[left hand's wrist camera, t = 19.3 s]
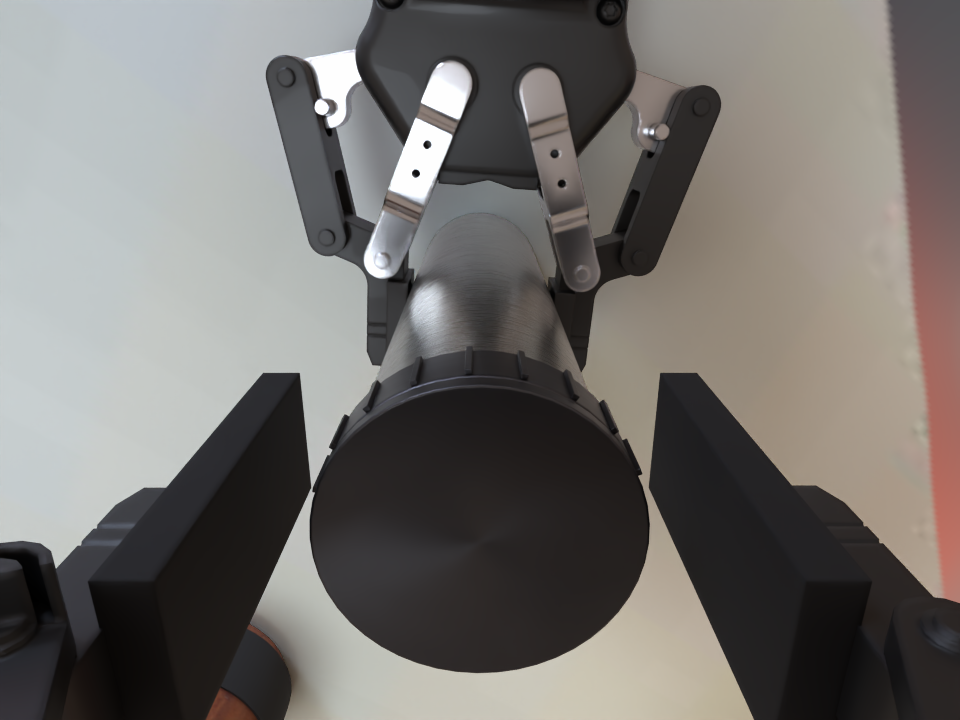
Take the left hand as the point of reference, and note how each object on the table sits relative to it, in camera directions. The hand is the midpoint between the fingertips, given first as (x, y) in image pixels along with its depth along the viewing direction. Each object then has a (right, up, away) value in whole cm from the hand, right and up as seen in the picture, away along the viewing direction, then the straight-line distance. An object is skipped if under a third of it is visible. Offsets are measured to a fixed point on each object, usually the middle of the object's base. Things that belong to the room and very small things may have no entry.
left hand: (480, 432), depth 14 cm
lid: (0, -1, -3) cm, 4 cm away
